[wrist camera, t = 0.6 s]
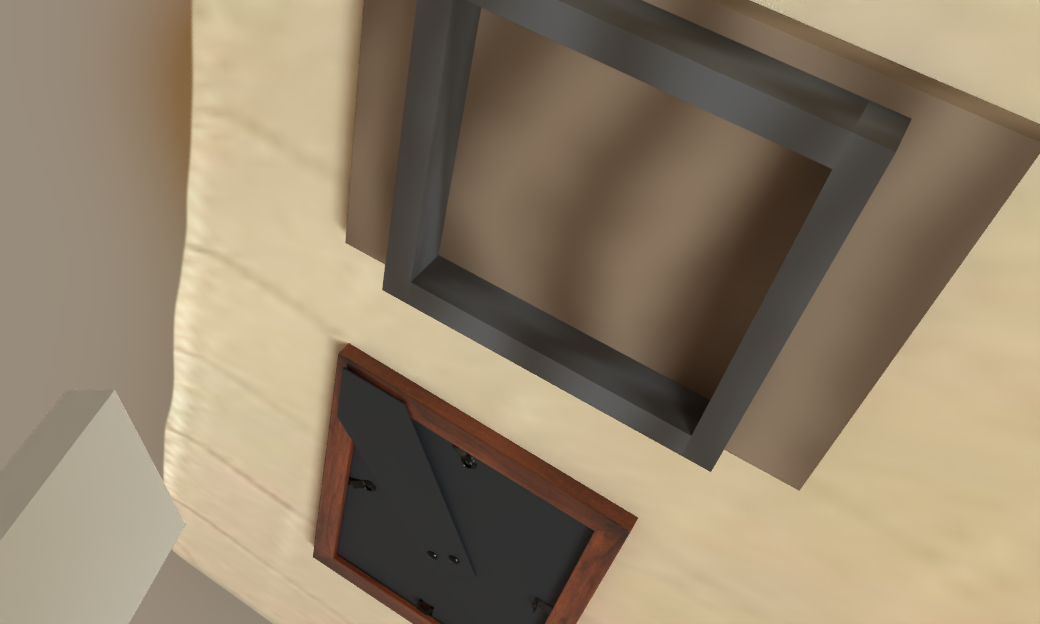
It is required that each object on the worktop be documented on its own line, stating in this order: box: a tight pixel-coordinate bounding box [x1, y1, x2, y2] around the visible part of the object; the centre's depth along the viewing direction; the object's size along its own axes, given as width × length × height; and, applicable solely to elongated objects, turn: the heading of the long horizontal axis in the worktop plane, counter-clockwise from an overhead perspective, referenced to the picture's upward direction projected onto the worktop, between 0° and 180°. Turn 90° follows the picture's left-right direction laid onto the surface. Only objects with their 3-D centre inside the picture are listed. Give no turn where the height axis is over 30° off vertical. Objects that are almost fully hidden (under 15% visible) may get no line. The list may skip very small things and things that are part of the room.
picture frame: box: [313, 343, 638, 624], centre depth 64 cm, size 20×2×25 cm
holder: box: [346, 0, 1040, 490], centre depth 40 cm, size 26×20×4 cm
